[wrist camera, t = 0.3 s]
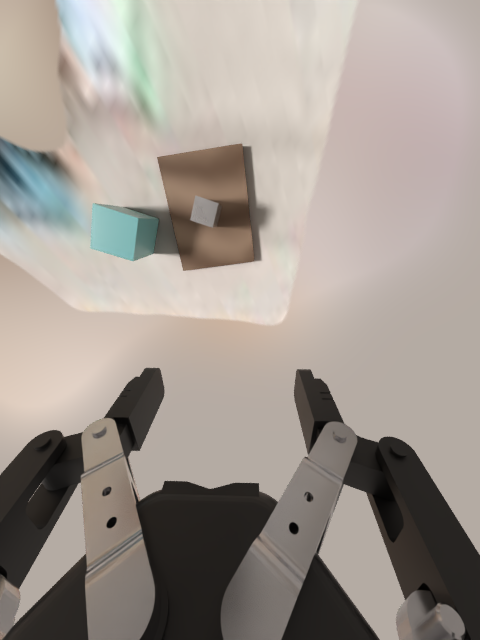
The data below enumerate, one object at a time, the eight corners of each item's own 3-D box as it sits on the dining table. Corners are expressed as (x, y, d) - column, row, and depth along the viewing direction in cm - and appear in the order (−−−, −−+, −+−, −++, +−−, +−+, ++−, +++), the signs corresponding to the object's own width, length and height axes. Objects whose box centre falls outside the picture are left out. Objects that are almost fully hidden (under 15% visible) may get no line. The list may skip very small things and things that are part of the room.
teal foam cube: (123, 207, 35) (92, 203, 28) (158, 218, 36) (138, 218, 29) (119, 243, 38) (90, 248, 30) (153, 253, 38) (133, 261, 31)
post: (202, 199, 34) (195, 195, 28) (221, 206, 34) (218, 203, 29) (197, 220, 35) (190, 220, 30) (216, 226, 35) (212, 227, 30)
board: (159, 159, 33) (157, 157, 32) (242, 146, 32) (242, 143, 31) (184, 269, 39) (183, 270, 38) (254, 260, 39) (254, 261, 38)
